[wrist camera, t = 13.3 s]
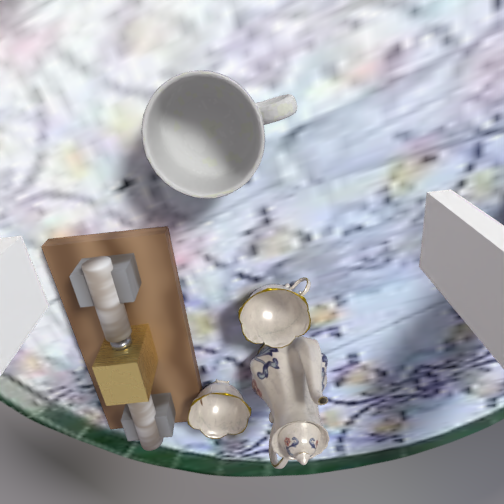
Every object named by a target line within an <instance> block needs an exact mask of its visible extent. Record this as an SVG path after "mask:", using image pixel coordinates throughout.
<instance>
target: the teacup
mask: <svg viewBox="0 0 504 504" xmlns="http://www.w3.org/2000/svg"><path fill="white" fill-rule="evenodd" d="M296 110H297V103H296V100H295V98H294V96H292V95H290V94H287V95H282V96H278V97H275V98H272V99H268V100H266V101H263V102H258V103H255V102H254V101H253V99H252V98H251V97H250V95H249V94H248V93H247V92H246V91H245V89H244V88H243V87H242V86H240V85H239V84H238V83H237V82H235V81H234V80H232V79H231V78H229V77H227V76H225V75H222V74H219V73H215V72H211V71H190V72H185V73H182V74H179V75H176V76H174V77H172V78H171V79H169V80H168V81H166V82H165V83H164V84H162V85H161V86H160V87H159V88H158V89H157V90H156V92H155V93H154V94H153V95H152V97H151V99H150V101H149V103H148V105H147V107H146V109H145V112H144V115H143V121H142V139H143V146H144V150H145V153H146V157H147V159H148V161H149V163H150V165H151V166H152V168H153V169H154V171H155V172H156V174H157V175H158V176H159V177H160V178H161V179H162V180H163V181H164V182H165V183H166V184H167V185H169V186H170V187H172V188H173V189H175V190H177V191H178V192H181V193H183V194H185V195H188V196H191V197H196V198H208V199H209V198H216V197H222V196H226V195H228V194H230V193H232V192H234V191H236V190H237V189H239V188H241V187H242V186H243V185H245V184H246V183H247V182H248V181H249V180H250V179H251V177H252V176H253V174H254V173H255V171H256V170H257V168H258V166H259V164H260V162H261V159H262V156H263V152H264V145H265V134H264V125H265V124H269V123H273V122H276V121H279V120H282V119H285V118H287V117H289V116H291V115H293V114H294V113H295V112H296Z"/></svg>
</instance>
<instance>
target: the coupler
mask: <svg viewBox="0 0 504 504" xmlns="http://www.w3.org/2000/svg"><path fill="white" fill-rule="evenodd" d="M131 329H132V333H131V335H130V336H129V337H128V338H126V339H125V340H123V341H120V342H115V343H112V342H108V341H107V340H106V339H104V341H103V343H102V345H101V348H100V350H99V352H98V355H97V357H96V359H95V361H94V364H93V366H92V369H93V372H94V374H95V377H96V380H97V382H98V385H99V388H100V390H101V393H102V396H103V398H104V401H105V404H106V406H111V405H120V404H130V403H140V402H149V398H150V394H151V390H152V385H153V381H154V377H155V373H156V369H157V364H158V356H157V353H156V349H155V345H154V342H153V338H152V334H151V330H150V327H149V324H141V325H131Z"/></svg>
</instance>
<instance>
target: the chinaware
mask: <svg viewBox="0 0 504 504" xmlns="http://www.w3.org/2000/svg"><path fill="white" fill-rule="evenodd" d="M302 281H307V285H306V288H305V290H304V291H303V292H301V291H299V294H297V293H295V292H293V291H292V289H294V288H295V287H296V286H297V285H298V284H299V283H300V282H302ZM310 285H311V283H310V280H309V279H308V278H300V279H299V280H297V281H296V282H295V284H294V285H293V286H292V287H291V286H290V284H286V285H285V286H283V285H279V284H269V285H265V286H262V287H260V288H258V289H257V290H255V291H254V292H253V293H252V295H251V296H250V297H249V299H248V300H247V301H246V302H245V303H244V304H243V305H242V306H241V307H240V308H239V310H238V314H239V316H238V317H239V321H240V323H242V324H241V328H242V332H243V335H244V336H245V338H246V340H247V341H250V342H252V343H254V344H263V342H264V345H263V346H262V347H261V348H260V350H259V352H258V355H257V356H256V357H254V358H253V359H252V361H251V362H250V369H251V374H252V388H253V390H254V392H255V393H256V394H257V395H258V396H260V397H261V398H262V399H263V400H264V401H265V402H266V404H267V405H268V407H269V409H270V411H271V412H270V414H269V420H270V422H271V423H273V426H272V429H271V434H270V440H269V456H270V461H271V464H272V465H273V467H275V468H279V469H281V468H283V467H285V465H286V464H287V462H288V460H297V461H298V462H300V463H301V464H302V465H305V464H306V463H307V462H308V460H309V459H310V458H313V457H314V456H316V455H318V454H321V453H322V451H323V450H324V449H325V448H326V447H327V446H328V442H329V436H328V432H327V430H326V429H325V428H324V427H323V425H322V423H321V420H320V416H319V411H318V405H324V404H326V403H327V402H328V399H327V397H324V396H323V394H322V392H323V390H324V389H325V387H326V384H327V376H326V369H327V362H328V360H327V357H326V356H325V355H324V354H323V353H321V350H320V346H319V343H318V341H317V340H315V339H311V338H307V337H303V336H301V335H304V334H305V333H306V332H307V331H308V330H309V329H310V323H311V319H310V314H309V312H308V310H309V309H308V304H307V302H306V299H305V297H304V295H305V294H306V293H307V292H308V291H309V289H310ZM200 399H202V403H203V406H202V405H201V403H200ZM250 416H251V407H250V406H249V405H248V404H247V403H246V402H244V400H243V397H242V395H241V394H240V392H239V391H238V390H237V389H236V388H235V387H233V386H232V385H230V384H229V381H227V382H226V381H219V380H217V379H216V381H215V382H214V383H213V384H211V385H209V386H207V387H205V388H204V389H203V390H202V391H201V392H200V393H199V395H198V396H197V398H195V399H194V400H193V402H192V404H191V406H190V410H189V414H188V425H189V426H191V427H192V428H193V429H198V430H199V429H200V431H201V432H202V433H203V434H204V435H205V436H206V437H209V438H211V439H218V438H222V437H224V436H225V435H227V434H228V433H229V434H234V435H236V434H239V433H242V432H243V431H244V430H245V428H246V427H247V424H248V418H249V417H250ZM276 453H277V454H278V455H279V456H280V457H283V458H282V459H281V460H280V461H279V463H278V460H277V455H276Z"/></svg>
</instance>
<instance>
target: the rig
mask: <svg viewBox="0 0 504 504" xmlns="http://www.w3.org/2000/svg"><path fill="white" fill-rule="evenodd" d="M41 247H42V250H43V252H44V255H45V258H46V260H47V263H48V266H49V268H50V271H51V274H52V276H53V279H54V281H55V284H56V287H57V289H58V292H59V295H60V297H61V300H62V303H63V305H64V308H65V310H66V313H67V316H68V318H69V321H70V324H71V326H72V329H73V332H74V334H75V337H76V340H77V342H78V345H79V347H80V350H81V353H82V355H83V358H84V361H85V363H86V366H87V369H88V371H89V374H90V376H91V379H92V382H93V384H94V387H95V390H96V392H97V395H98V398H99V400H100V403H101V405H102V408H103V411H104V413H105V416H106V419H107V421H108V424H109V427H110V429H118V428H124V431H125V434H126V437H127V440H128V441H135V440H140V443H141V446H142V448H143V449H145V450H154V449H156V448H158V447H159V446H160V445H161V444H162V442H163V438H164V437H172V435H173V428H174V423H177V422H186V421H188V414H189V410H190V406H191V404H192V402H193V400H194V399H195V398H197V396H198V395H199V393H200V392H201V391H202V385H201V380H200V375H199V371H198V366H197V361H196V357H195V352H194V347H193V343H192V338H191V333H190V328H189V324H188V319H187V314H186V310H185V305H184V300H183V296H182V291H181V286H180V281H179V277H178V272H177V267H176V263H175V258H174V253H173V249H172V244H171V239H170V234H169V230H168V226H165V227H156V228H147V229H137V230H128V231H119V232H109V233H100V234H91V235H81V236H72V237H63V238H53V239H48V240H47V241H46V242H45V243H44V244H43V245H42V246H41ZM141 324H149V327H150V330H151V334H152V338H153V342H154V345H155V349H156V353H157V356H158V364H157V369H156V373H155V377H154V381H153V385H152V390H151V394H150V398H149V402H140V403H130V404H120V405H111V406H106V404H105V401H104V398H103V396H102V393H101V390H100V388H99V385H98V382H97V380H96V377H95V374H94V372H93V369H92V366H93V364H94V361H95V359H96V357H97V355H98V352H99V350H100V348H101V345H102V343H103V341H104V339H106V340H107V341H108V342H112V343H115V342H120V341H123V340H125V339H126V338H128V337H129V336H130V335H131V333H132V329H131V325H141ZM200 403H201V405H202V406H203V403H202V399H200Z"/></svg>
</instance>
